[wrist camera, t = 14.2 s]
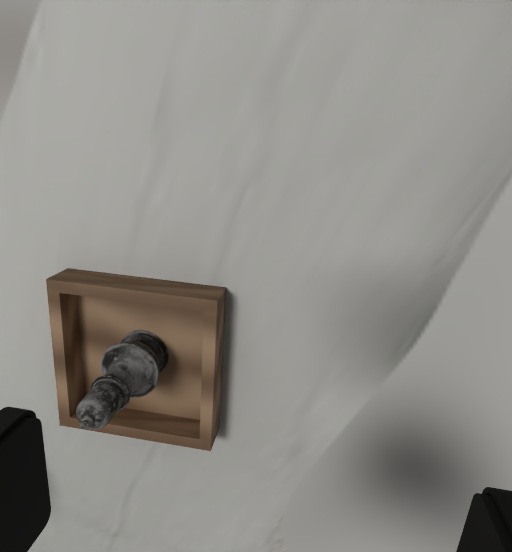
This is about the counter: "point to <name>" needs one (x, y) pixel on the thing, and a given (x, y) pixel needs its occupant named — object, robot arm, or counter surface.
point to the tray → (150, 317)
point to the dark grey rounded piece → (123, 377)
